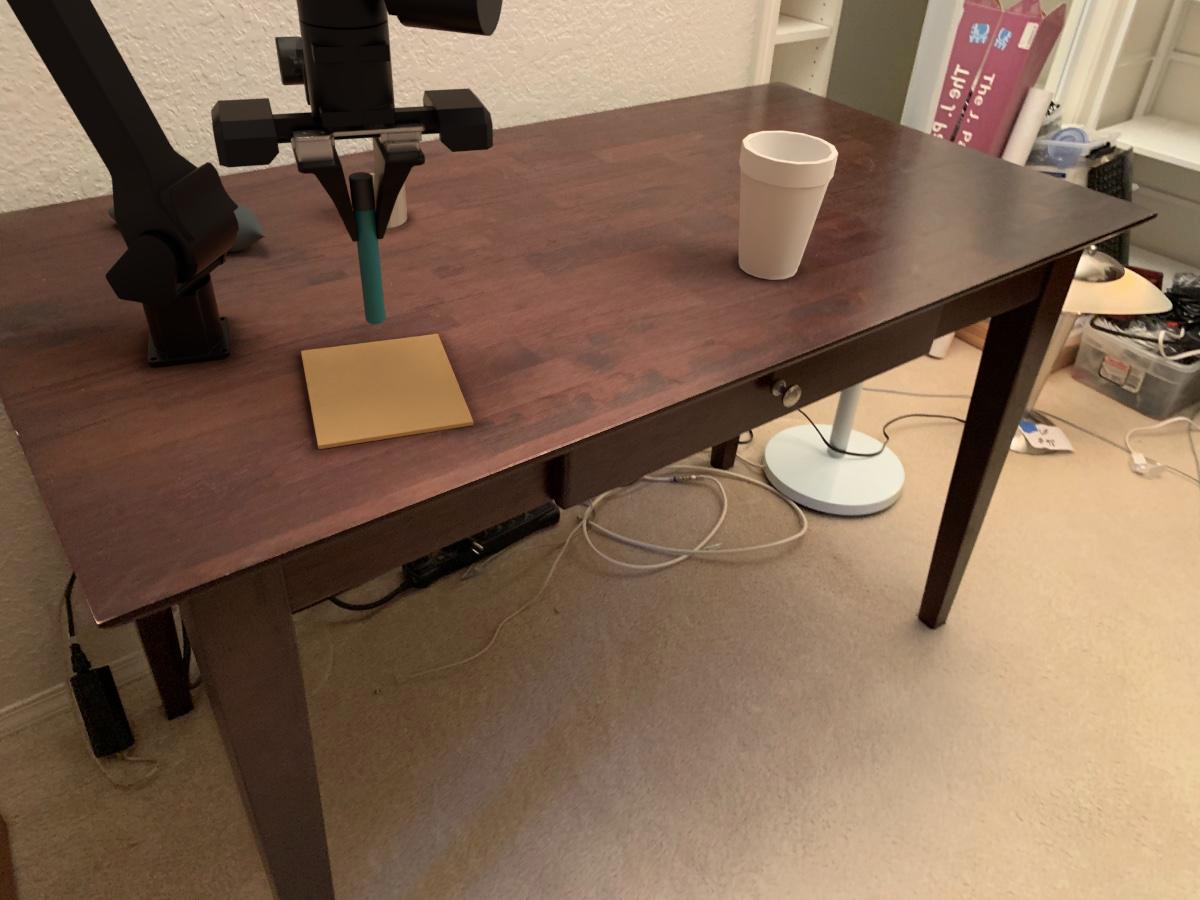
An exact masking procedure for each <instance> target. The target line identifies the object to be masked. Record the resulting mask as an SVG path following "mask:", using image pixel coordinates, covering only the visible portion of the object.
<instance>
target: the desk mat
mask: <svg viewBox="0 0 1200 900" xmlns="http://www.w3.org/2000/svg"><path fill="white" fill-rule="evenodd" d="M300 355H301V360H302V365H303V371H304V375H305V376H304V377H305V381H306V382H305V383H306V389H307V394H308V400H309V405H310V410H311V416H312V421H313V427H314V432H315V438H316V444H317V448H318V450H324V449H329V448H337V447H343V446H348V445H356V444H362V443H368V442H375V441H381V440H389V439H393V438H401V437H407V436H413V435H414V436H415V435H420V434H426V433H433V432H439V431H447V430H452V429H459V428H463V427H464V428H465V427H470V426H471V427H472V426H474V419H473V417H472V414H471V412H470V410H469V407H468V405H467V402H466V400H465V397H464V395H463V392H462V390H461V387H460V385H459V383H458V380H457V378H456V376H455V373H454V371H453V367H452V365H451V363H450V360H449V358H448V354H447V353H446V350H445V348H444V346H443V343H442V340H441V339H440V336H439V333H432V334H425V335H416V336H408V337H401V338H400V337H399V338H392V339H385V340H375V341H369V342H359V343H352V344H347V345H346V344H343V345H337V346H330V347H329V346H328V347H320V348H313V349H304V350H301V351H300Z"/></svg>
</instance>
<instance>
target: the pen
mask: <svg viewBox="0 0 1200 900" xmlns="http://www.w3.org/2000/svg"><path fill="white" fill-rule="evenodd" d="M348 182H349V192H350V193H349V194H350V200H351V204H352V208H353V213H354V217H355V221H356V225H357V235H358V241H357V242H356V248H357V257H358V266H359V273H360V282H361V290H362V300H363V309H364V317H365V322H367V323H368V324H371V325H380V324H383V323H385V321H386V320H387V317H386V316H387V315H386V305H385V295H384V287H383V285H384V283H383V275H382V266H381V264H382V263H381V255H380V245H379V239H378V237H377V227H376V214H375V197H374V186H373V177H372V175H371V174H369V172H366V171H365V172H364V171H362V172H361V171H357V172H353V173H350V174H349V175H348Z"/></svg>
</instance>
